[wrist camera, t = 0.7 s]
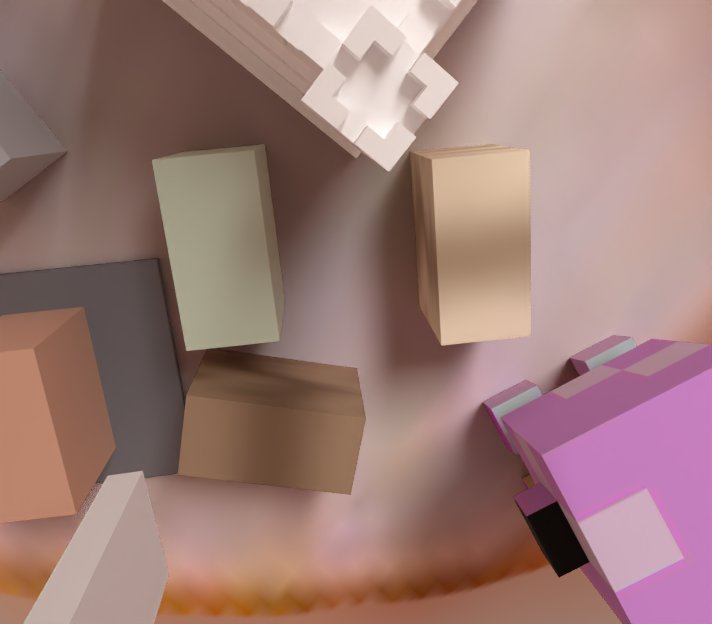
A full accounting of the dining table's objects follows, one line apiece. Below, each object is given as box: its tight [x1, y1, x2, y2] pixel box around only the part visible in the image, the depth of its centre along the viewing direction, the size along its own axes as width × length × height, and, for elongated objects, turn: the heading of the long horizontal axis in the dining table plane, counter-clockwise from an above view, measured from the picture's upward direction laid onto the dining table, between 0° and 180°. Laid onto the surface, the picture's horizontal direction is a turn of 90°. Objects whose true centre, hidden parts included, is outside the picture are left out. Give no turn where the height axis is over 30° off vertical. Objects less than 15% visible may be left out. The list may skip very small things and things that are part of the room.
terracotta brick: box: [0, 307, 116, 523], centre depth 30 cm, size 8×4×6 cm, turn 5°
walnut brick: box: [178, 348, 366, 495], centre depth 31 cm, size 8×4×6 cm, turn 80°
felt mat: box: [0, 258, 185, 483], centre depth 33 cm, size 12×12×1 cm
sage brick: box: [152, 144, 285, 351], centre depth 29 cm, size 8×4×6 cm, turn 5°
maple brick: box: [410, 144, 531, 346], centre depth 29 cm, size 8×4×6 cm, turn 5°
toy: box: [483, 335, 712, 624], centre depth 29 cm, size 11×8×15 cm
